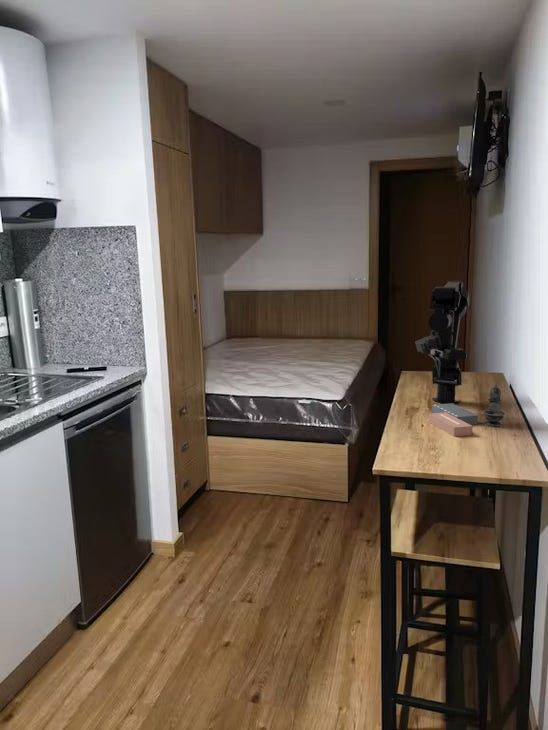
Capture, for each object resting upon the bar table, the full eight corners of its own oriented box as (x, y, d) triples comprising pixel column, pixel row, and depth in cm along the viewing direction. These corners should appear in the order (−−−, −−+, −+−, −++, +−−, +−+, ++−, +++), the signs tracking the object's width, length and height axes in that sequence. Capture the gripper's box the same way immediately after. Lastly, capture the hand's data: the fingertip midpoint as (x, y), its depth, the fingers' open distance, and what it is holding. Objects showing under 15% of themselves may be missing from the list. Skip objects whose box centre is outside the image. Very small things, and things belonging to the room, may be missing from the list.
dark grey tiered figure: (502, 422, 166) (505, 382, 163) (505, 428, 160) (508, 387, 158) (481, 420, 167) (484, 381, 165) (483, 426, 162) (486, 386, 159)
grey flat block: (431, 412, 176) (432, 404, 176) (452, 410, 178) (452, 403, 177) (456, 425, 163) (456, 416, 162) (477, 423, 164) (478, 415, 164)
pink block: (428, 421, 166) (428, 413, 166) (445, 420, 168) (445, 411, 167) (453, 436, 153) (454, 427, 153) (472, 434, 154) (472, 425, 154)
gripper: (405, 325, 180) (403, 372, 183) (435, 332, 162) (432, 385, 165) (437, 323, 182) (434, 370, 185) (469, 331, 164) (466, 383, 167)
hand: (440, 377), depth 176 cm, fingers closed
